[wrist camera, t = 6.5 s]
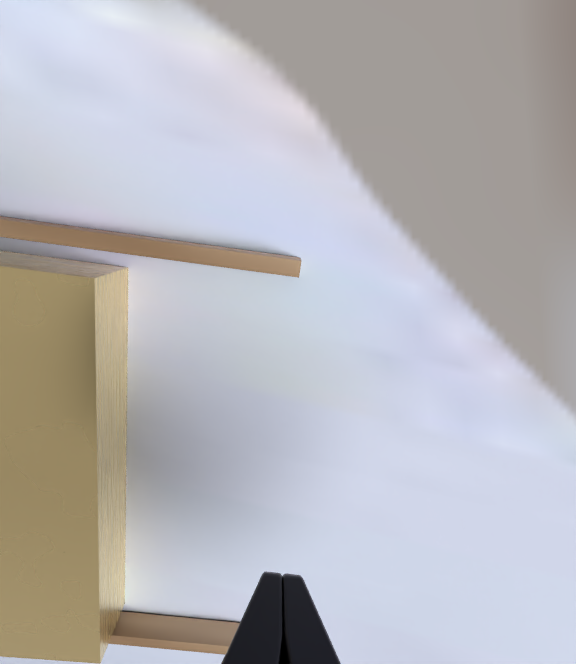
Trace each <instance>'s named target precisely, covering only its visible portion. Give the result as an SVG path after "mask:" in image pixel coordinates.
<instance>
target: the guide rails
mask: <svg viewBox="0 0 576 664" xmlns="http://www.w3.org/2000/svg"><path fill="white" fill-rule="evenodd" d="M0 237H6V238H13V239H21V240H28V241H35V242H43V243H50V244H57V245H65V246H72V247H80V248H87V249H94V250H102V251H109V252H116V253H124V254H131V255H138V256H146V257H153V258H160V259H168V260H175V261H182V262H190V263H197V264H204V265H212V266H219V267H226V268H234V269H241V270H248V271H256V272H263V273H270V274H278V275H285V276H292V277H299V273H300V266H301V259H300V258H299V257H292V256H285V255H277V254H270V253H263V252H256V251H249V250H241V249H234V248H227V247H220V246H212V245H205V244H198V243H191V242H184V241H176V240H169V239H162V238H155V237H147V236H140V235H133V234H126V233H118V232H111V231H104V230H97V229H90V228H82V227H75V226H68V225H61V224H53V223H46V222H39V221H32V220H25V219H17V218H10V217H3V216H0ZM239 624H240V623H235V622H225V621H215V620H204V619H194V618H184V617H174V616H164V615H153V614H143V613H133V612H123V611H121V614H120V616H119V619H118V621H117V624H116V626H115V629H114V631H113V633H112V636H111V638H110V641H109V644H120V645H130V646H141V647H151V648H162V649H173V650H183V651H194V652H204V653H215V654H226V653H227V650H228V648H229V646H230V644H231V642H232V639H233V637H234V635H235V633H236V631H237V628H238V626H239Z"/></svg>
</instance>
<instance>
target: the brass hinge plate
mask: <svg viewBox="0 0 576 664" xmlns="http://www.w3.org/2000/svg"><path fill="white" fill-rule="evenodd" d="M127 342H128V267H120V266H113V265H105V264H98V263H90V262H83V261H75V260H68V259H60V258H53V257H45V256H38V255H30V254H23V253H15V252H8V251H0V656H3V657H17V658H31V659H45V660H59V661H73V662H88V663H101V661H102V658H103V656H104V653H105V651H106V648H107V646H108V643H109V641H110V638H111V636H112V633H113V631H114V629H115V626H116V624H117V621H118V619H119V616H120V614H121V611H122V609H123V606H124V604H125V526H126V434H127Z"/></svg>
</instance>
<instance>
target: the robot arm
mask: <svg viewBox="0 0 576 664" xmlns="http://www.w3.org/2000/svg"><path fill="white" fill-rule="evenodd" d="M222 664H341V663H340V661H339V659H338V657H337V654H336V652H335V650H334V648H333V645H332V643H331V641H330V639H329V636H328V634H327V632H326V630H325V627H324V625H323V623H322V620H321V618H320V616H319V614H318V611H317V609H316V607H315V605H314V602H313V600H312V598H311V596H310V593H309V591H308V589H307V587H306V584H305V582H304V580H303V578H302V577H301V576H300V575H294V574H284V575H283V576H282V575H281V574H280V573H274V572H264V573H263V574H262V576H261V578H260V580H259V582H258V585H257V587H256V589H255V591H254V593H253V596H252V598H251V600H250V602H249V604H248V607H247V609H246V611H245V613H244V615H243V618H242V620H241V622H240V624H239V626H238V628H237V631H236V633H235V635H234V637H233V639H232V642H231V644H230V646H229V648H228V650H227V653H226V655H225V657H224V659H223V661H222Z"/></svg>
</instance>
